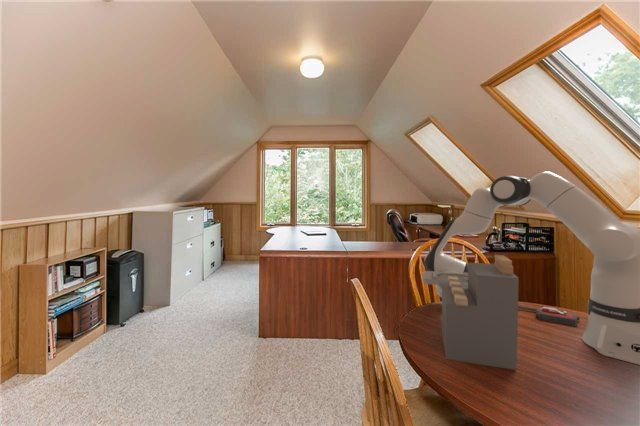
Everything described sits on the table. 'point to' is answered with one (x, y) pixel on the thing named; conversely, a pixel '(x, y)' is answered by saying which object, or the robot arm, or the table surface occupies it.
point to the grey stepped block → (483, 317)
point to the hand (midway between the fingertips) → (452, 273)
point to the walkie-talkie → (554, 315)
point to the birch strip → (457, 291)
